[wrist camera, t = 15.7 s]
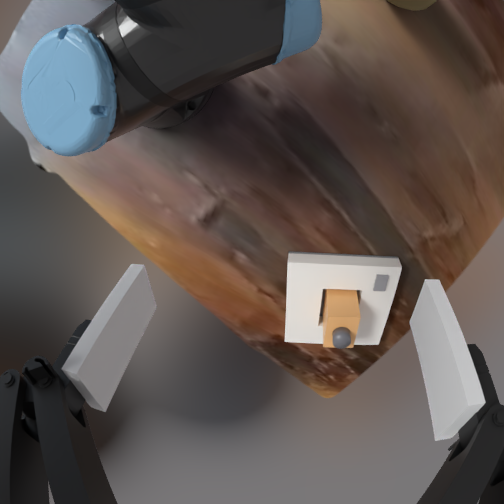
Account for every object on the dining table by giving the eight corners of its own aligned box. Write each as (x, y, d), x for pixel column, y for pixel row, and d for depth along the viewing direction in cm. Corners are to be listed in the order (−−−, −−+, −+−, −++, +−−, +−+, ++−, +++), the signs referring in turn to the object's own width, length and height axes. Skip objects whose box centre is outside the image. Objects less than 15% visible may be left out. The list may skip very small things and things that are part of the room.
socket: (286, 330, 59) (284, 343, 57) (288, 251, 50) (287, 263, 47) (376, 333, 57) (378, 346, 54) (397, 256, 47) (402, 268, 44)
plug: (322, 313, 55) (323, 356, 47) (326, 283, 51) (328, 326, 43) (349, 314, 54) (353, 357, 46) (355, 284, 51) (362, 327, 42)
